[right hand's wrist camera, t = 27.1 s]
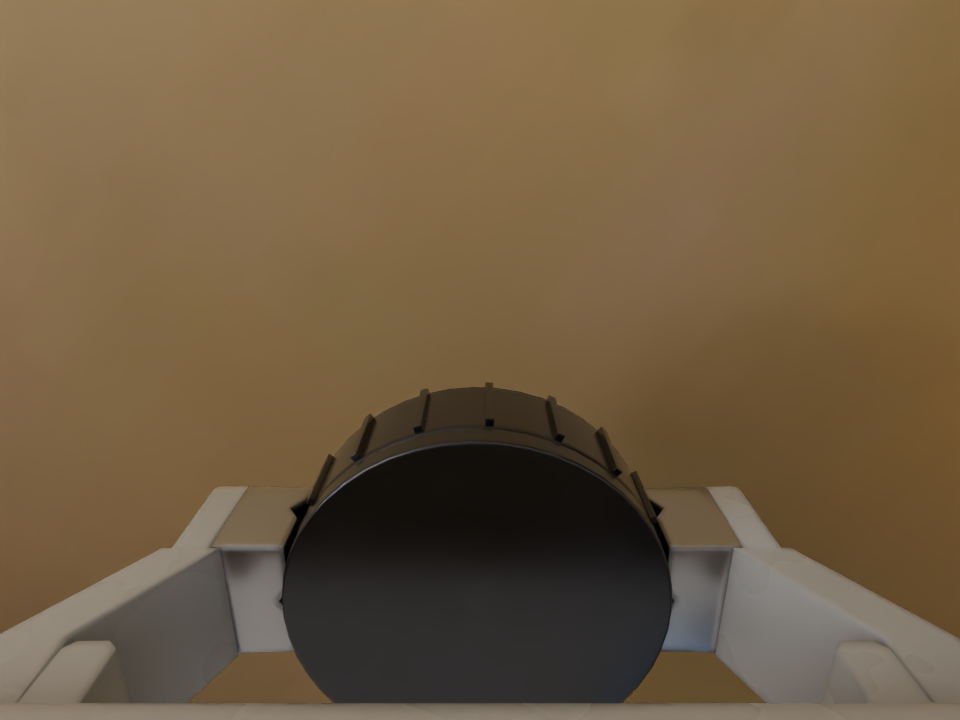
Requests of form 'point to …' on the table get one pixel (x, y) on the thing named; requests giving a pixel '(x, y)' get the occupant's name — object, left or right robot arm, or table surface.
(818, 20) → the table surface
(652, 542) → the lid
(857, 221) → the table surface
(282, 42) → the table surface
